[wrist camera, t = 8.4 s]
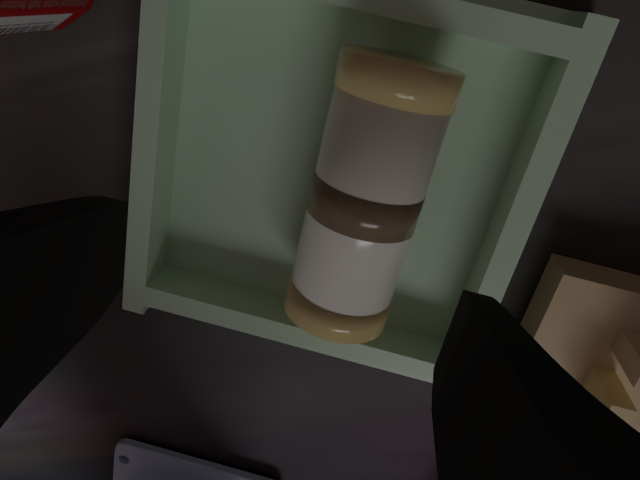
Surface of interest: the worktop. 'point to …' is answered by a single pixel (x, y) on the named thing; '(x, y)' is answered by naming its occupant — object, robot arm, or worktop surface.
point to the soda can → (39, 14)
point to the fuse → (368, 189)
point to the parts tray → (304, 145)
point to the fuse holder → (591, 329)
